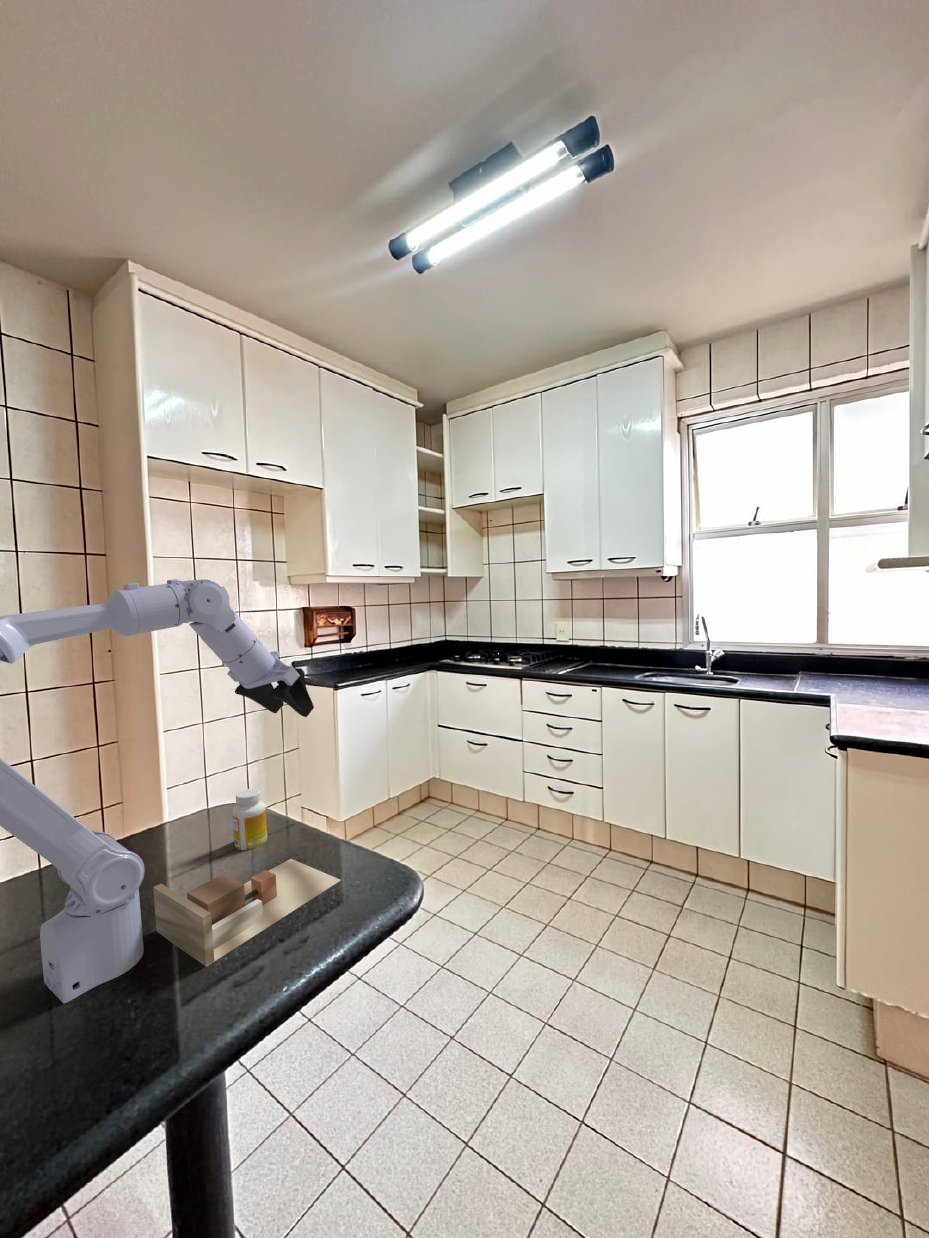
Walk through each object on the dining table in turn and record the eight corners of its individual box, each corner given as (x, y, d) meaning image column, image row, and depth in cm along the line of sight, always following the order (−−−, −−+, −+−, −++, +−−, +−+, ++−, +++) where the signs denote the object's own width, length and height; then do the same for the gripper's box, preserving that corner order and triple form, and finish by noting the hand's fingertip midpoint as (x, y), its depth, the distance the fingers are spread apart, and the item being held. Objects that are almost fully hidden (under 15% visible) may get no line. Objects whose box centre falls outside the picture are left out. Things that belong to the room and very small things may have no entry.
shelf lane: (206, 972, 62) (202, 917, 61) (157, 936, 69) (153, 887, 68) (341, 884, 79) (339, 841, 79) (291, 863, 86) (288, 823, 85)
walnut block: (210, 942, 66) (207, 904, 65) (189, 928, 69) (186, 892, 68) (282, 898, 75) (280, 864, 74) (261, 888, 77) (259, 855, 77)
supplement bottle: (273, 839, 94) (269, 786, 94) (258, 854, 89) (255, 799, 88) (244, 838, 95) (241, 786, 94) (228, 854, 90) (224, 799, 89)
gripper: (287, 629, 74) (338, 693, 81) (230, 631, 82) (281, 689, 89) (254, 665, 69) (311, 729, 77) (197, 663, 78) (254, 721, 85)
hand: (293, 710), depth 83 cm, fingers open, 7 cm apart
